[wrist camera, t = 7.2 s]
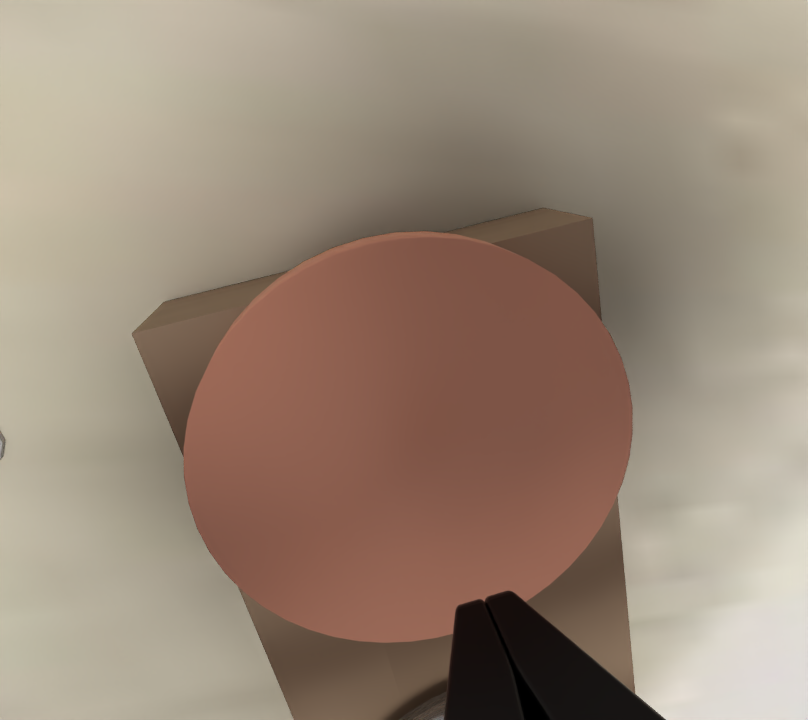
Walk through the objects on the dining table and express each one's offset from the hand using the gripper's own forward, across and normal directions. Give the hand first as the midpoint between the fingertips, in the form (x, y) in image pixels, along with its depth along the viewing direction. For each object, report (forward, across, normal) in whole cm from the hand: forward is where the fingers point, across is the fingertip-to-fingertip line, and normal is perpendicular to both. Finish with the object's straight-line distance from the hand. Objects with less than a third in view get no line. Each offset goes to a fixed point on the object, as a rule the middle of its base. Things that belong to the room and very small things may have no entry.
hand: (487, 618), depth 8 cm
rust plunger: (+9, 0, 0) cm, 9 cm away
